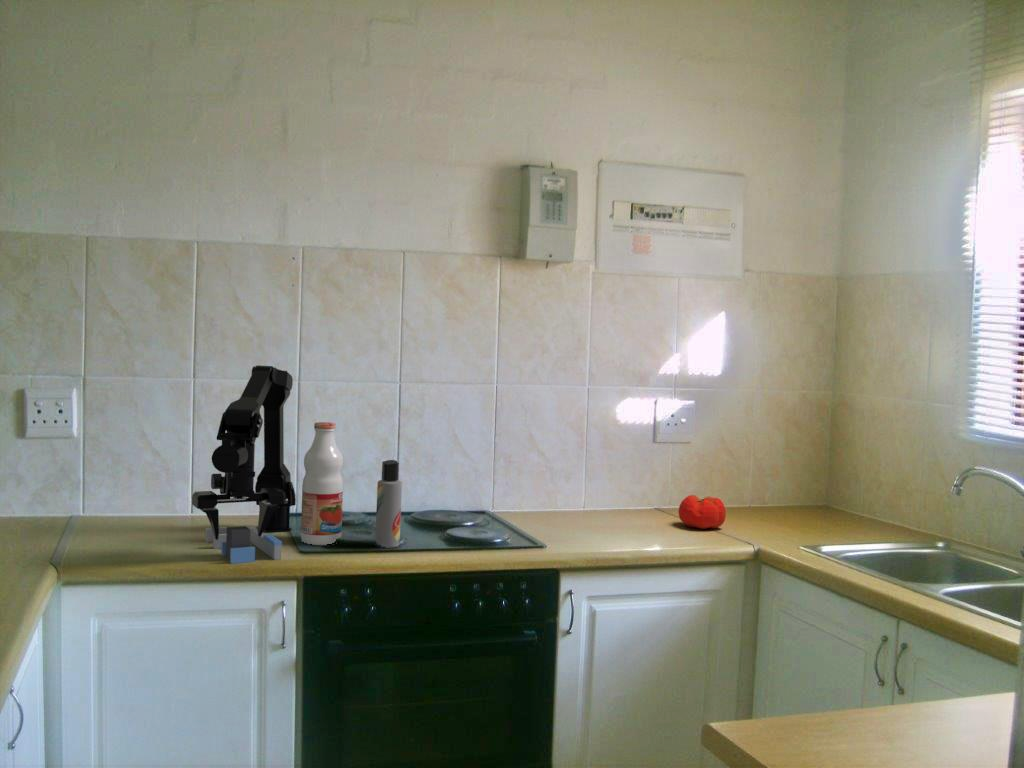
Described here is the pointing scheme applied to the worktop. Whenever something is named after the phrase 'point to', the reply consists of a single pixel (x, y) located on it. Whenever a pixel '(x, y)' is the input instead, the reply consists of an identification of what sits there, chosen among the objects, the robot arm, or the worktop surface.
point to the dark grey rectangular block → (237, 538)
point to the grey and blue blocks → (246, 554)
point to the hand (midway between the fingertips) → (238, 537)
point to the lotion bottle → (388, 506)
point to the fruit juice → (322, 488)
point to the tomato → (702, 512)
